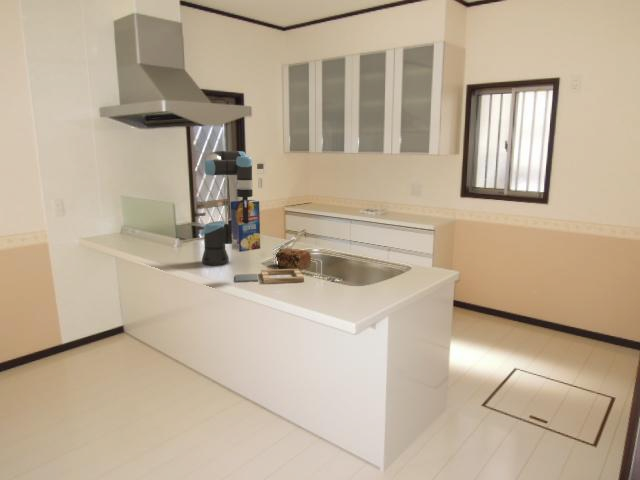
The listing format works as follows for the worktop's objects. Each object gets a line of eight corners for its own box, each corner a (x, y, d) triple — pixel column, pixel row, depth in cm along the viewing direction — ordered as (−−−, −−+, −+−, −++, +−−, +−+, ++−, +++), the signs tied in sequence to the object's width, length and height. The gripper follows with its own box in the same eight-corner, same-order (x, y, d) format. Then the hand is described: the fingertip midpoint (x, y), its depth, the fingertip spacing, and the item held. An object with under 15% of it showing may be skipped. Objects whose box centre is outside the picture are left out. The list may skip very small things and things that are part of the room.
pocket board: (261, 273, 241) (261, 270, 241) (298, 272, 245) (298, 268, 245) (263, 283, 224) (263, 279, 224) (304, 281, 228) (304, 277, 228)
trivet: (235, 276, 236) (235, 274, 236) (256, 275, 238) (256, 273, 238) (235, 282, 226) (235, 280, 225) (258, 281, 228) (258, 279, 228)
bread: (311, 267, 255) (311, 250, 253) (298, 271, 248) (298, 253, 246) (287, 261, 267) (287, 245, 265) (274, 265, 259) (274, 248, 257)
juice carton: (239, 252, 222) (238, 202, 217) (232, 249, 228) (230, 201, 223) (260, 248, 230) (259, 201, 225) (252, 246, 235) (251, 199, 231)
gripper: (236, 187, 230) (237, 232, 235) (237, 190, 214) (238, 239, 218) (251, 187, 232) (252, 232, 236) (253, 190, 215) (254, 238, 220)
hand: (245, 235), depth 227 cm, fingers open, 4 cm apart
